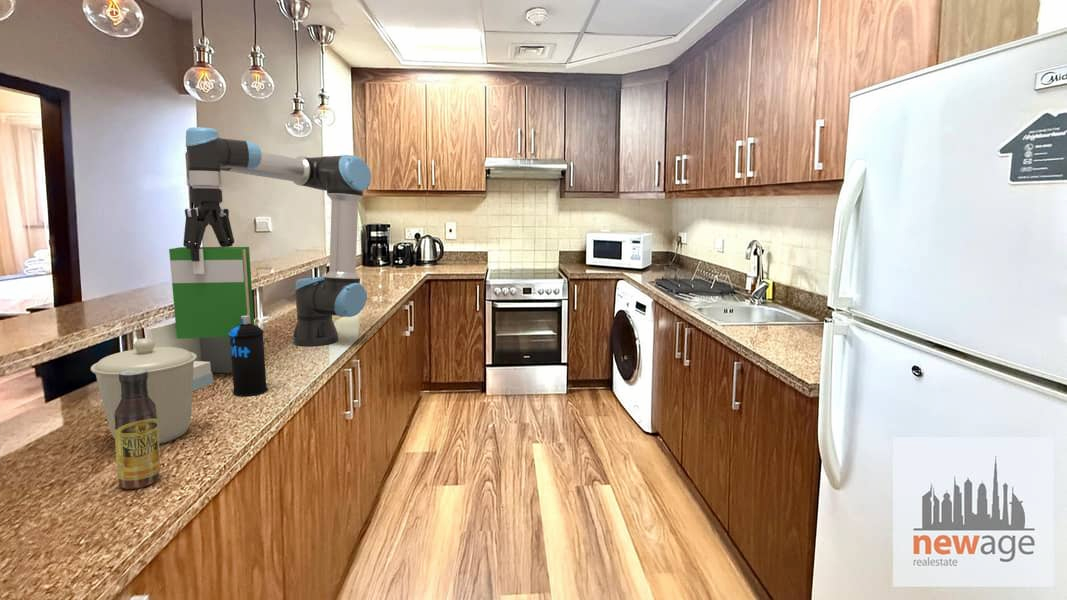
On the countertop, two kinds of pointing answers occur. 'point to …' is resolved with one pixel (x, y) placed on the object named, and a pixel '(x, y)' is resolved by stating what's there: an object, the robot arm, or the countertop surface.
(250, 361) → the aerosol can
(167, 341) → the shelf back board
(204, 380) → the book stack block
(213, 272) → the hardback book
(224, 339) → the bookend
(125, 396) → the sauce bottle
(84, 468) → the countertop surface
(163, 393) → the canister
